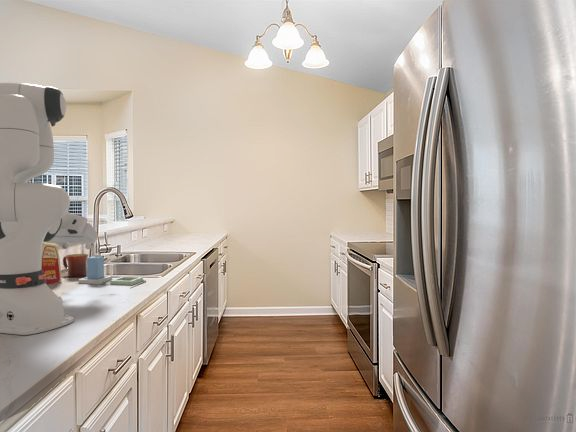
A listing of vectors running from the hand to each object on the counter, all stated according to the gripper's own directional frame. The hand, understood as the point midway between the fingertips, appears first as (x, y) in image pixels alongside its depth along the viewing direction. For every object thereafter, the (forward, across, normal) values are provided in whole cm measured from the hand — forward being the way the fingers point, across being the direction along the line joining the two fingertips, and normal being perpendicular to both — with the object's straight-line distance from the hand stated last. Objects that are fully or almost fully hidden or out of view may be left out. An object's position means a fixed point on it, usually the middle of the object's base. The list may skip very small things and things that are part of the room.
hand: (77, 247), depth 150 cm
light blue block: (+18, 0, -3) cm, 19 cm away
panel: (+19, +7, -4) cm, 21 cm away
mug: (+27, -16, +4) cm, 32 cm away
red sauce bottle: (+18, -19, -6) cm, 26 cm away
